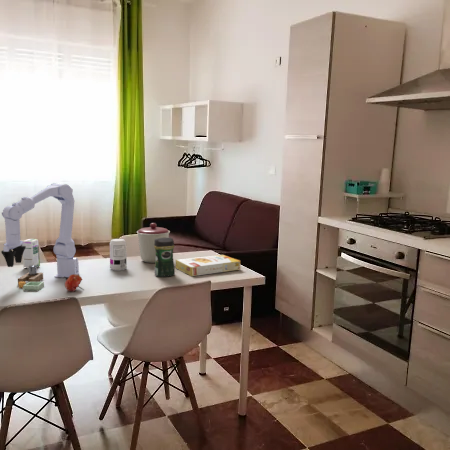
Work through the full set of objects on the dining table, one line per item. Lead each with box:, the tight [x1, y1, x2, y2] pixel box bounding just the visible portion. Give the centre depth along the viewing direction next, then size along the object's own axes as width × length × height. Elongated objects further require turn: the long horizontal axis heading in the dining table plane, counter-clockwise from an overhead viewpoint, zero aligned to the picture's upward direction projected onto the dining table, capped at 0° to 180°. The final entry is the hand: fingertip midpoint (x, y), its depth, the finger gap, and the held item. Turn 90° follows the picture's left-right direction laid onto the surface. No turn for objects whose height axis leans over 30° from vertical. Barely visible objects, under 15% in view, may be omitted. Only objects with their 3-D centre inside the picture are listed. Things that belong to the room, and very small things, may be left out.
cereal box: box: [175, 254, 241, 277], centre depth 245 cm, size 20×6×28 cm
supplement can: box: [109, 238, 128, 271], centre depth 242 cm, size 8×8×15 cm
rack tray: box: [22, 281, 45, 292], centre depth 206 cm, size 6×6×2 cm
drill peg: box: [28, 265, 38, 276], centre depth 218 cm, size 3×3×7 cm
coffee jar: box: [153, 237, 176, 278], centre depth 231 cm, size 10×8×19 cm
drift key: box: [18, 281, 29, 289], centre depth 210 cm, size 3×6×3 cm, turn 179°
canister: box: [136, 222, 171, 264], centre depth 260 cm, size 18×18×21 cm
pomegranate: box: [63, 274, 85, 293], centre depth 204 cm, size 7×7×10 cm
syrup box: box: [22, 238, 41, 268], centre depth 241 cm, size 6×6×14 cm
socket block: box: [17, 272, 44, 286], centre depth 216 cm, size 7×11×3 cm, turn 0°
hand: (14, 264), depth 207 cm, fingers open, 7 cm apart
